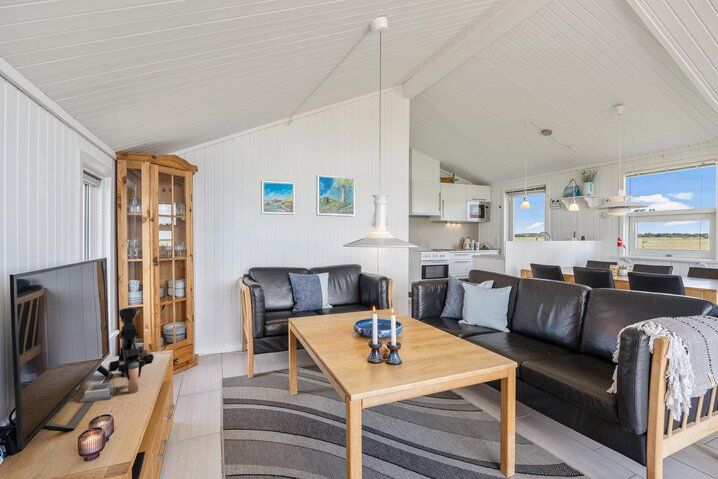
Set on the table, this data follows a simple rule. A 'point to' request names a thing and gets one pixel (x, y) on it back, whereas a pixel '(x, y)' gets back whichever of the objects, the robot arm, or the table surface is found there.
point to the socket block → (100, 392)
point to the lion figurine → (144, 353)
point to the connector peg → (133, 377)
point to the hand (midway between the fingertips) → (134, 378)
